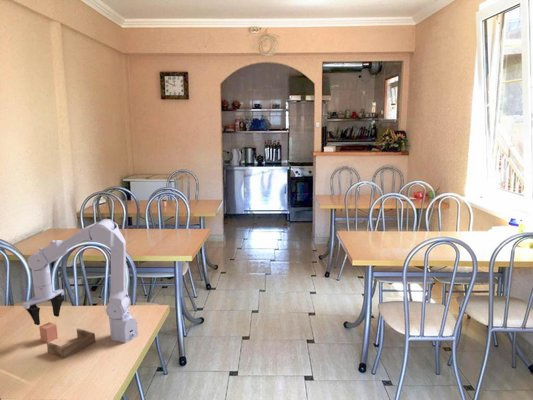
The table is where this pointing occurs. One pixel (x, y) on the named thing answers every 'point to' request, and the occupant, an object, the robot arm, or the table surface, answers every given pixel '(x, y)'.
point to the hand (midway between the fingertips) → (47, 320)
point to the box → (72, 344)
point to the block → (48, 332)
